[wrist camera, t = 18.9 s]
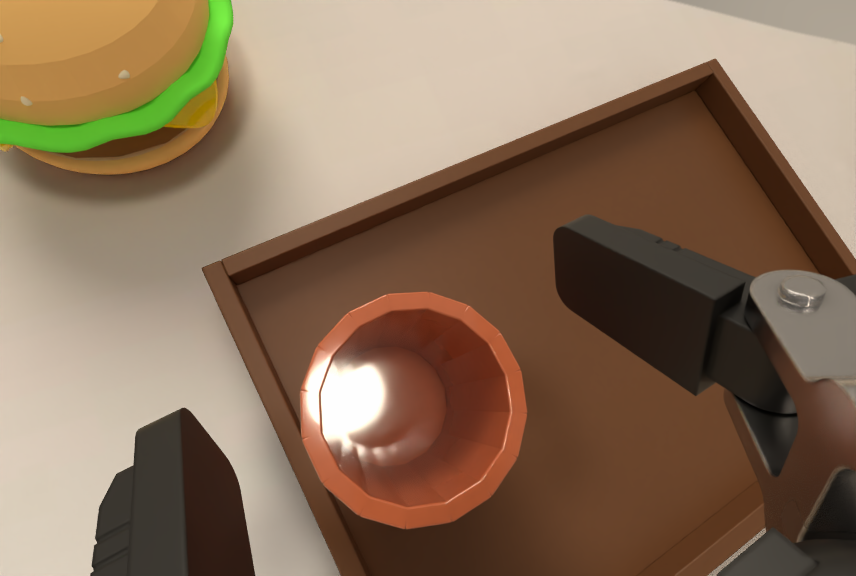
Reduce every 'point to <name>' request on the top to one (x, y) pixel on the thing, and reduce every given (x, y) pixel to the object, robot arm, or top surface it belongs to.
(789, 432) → the robot arm
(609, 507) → the tray
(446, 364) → the reddish brown cup
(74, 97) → the hamburger
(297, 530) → the top surface
